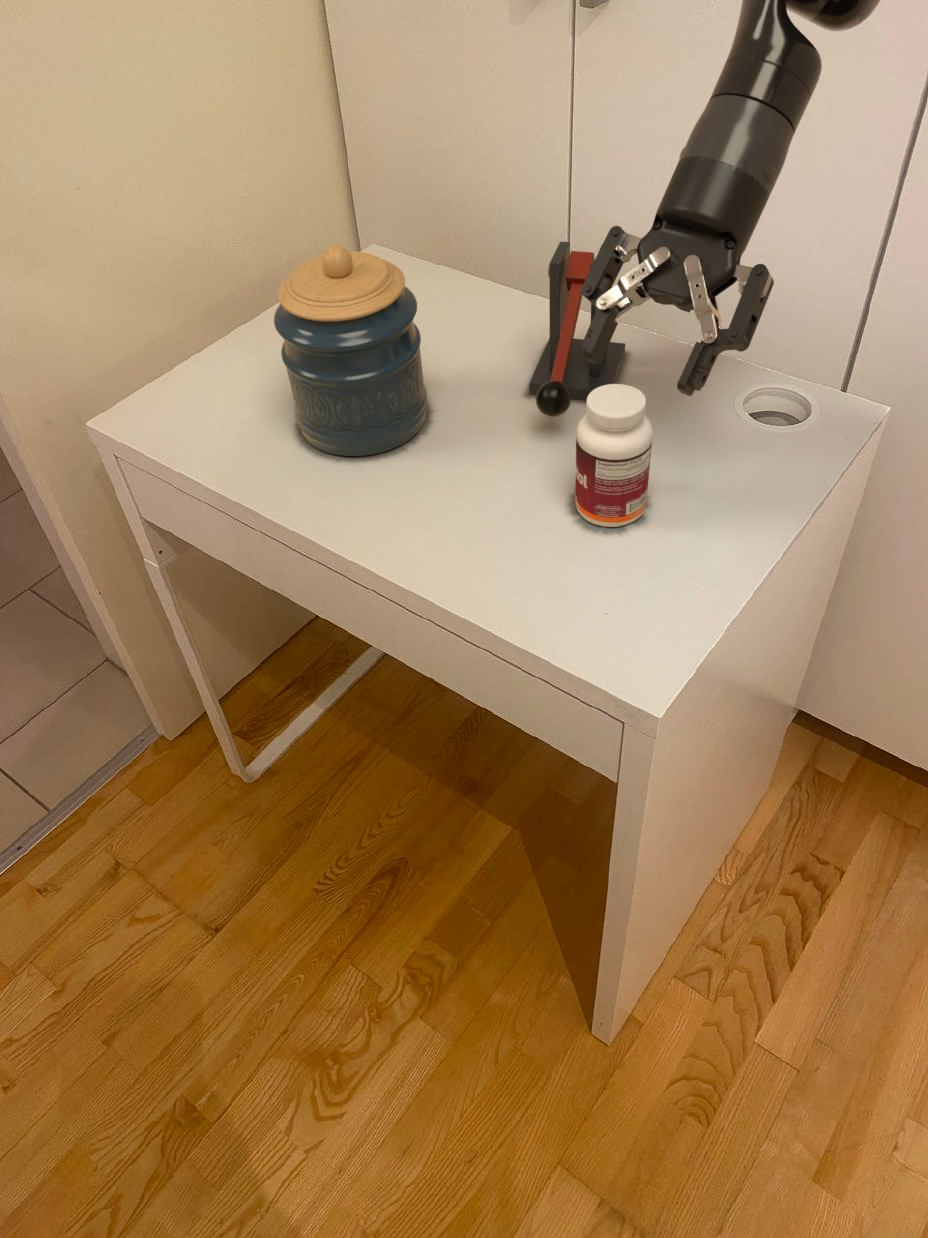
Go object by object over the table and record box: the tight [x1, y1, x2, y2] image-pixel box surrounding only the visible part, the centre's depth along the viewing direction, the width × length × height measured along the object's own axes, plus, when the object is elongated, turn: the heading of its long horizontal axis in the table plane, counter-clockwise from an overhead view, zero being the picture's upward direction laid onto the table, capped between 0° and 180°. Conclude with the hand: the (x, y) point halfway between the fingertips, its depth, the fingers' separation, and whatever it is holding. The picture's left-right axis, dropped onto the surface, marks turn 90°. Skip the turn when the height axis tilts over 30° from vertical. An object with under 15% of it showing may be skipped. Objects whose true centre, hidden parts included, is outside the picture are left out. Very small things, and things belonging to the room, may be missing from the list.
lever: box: [535, 250, 596, 418], centre depth 89 cm, size 16×3×3 cm
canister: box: [273, 245, 429, 457], centre depth 88 cm, size 13×13×18 cm
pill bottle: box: [574, 383, 654, 528], centre depth 79 cm, size 6×6×11 cm
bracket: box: [528, 241, 627, 401], centre depth 93 cm, size 9×8×13 cm
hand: (635, 376), depth 76 cm, fingers open, 8 cm apart
